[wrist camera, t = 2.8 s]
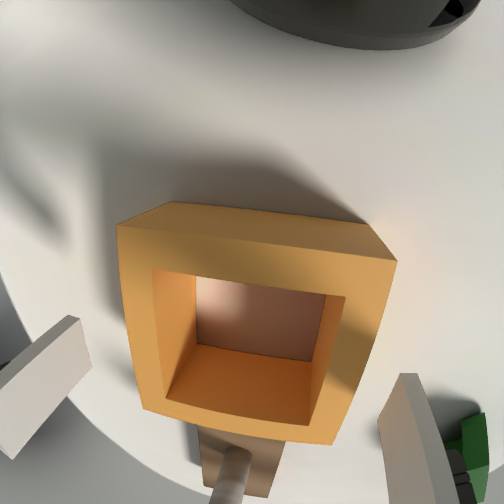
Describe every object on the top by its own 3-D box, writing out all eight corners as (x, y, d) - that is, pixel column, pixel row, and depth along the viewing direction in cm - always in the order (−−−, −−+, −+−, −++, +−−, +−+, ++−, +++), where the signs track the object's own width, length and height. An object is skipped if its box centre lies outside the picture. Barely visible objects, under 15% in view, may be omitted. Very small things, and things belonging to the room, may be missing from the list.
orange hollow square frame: (170, 201, 15) (116, 225, 10) (368, 224, 14) (397, 260, 9) (175, 356, 18) (143, 408, 14) (330, 382, 17) (331, 445, 12)
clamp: (421, 406, 22) (409, 468, 14) (479, 388, 19) (489, 447, 11) (434, 485, 20) (420, 545, 13) (483, 472, 17) (481, 532, 9)
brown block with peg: (204, 374, 19) (147, 495, 10) (296, 389, 18) (278, 525, 9) (209, 470, 23) (180, 549, 14) (270, 481, 22) (253, 564, 13)
